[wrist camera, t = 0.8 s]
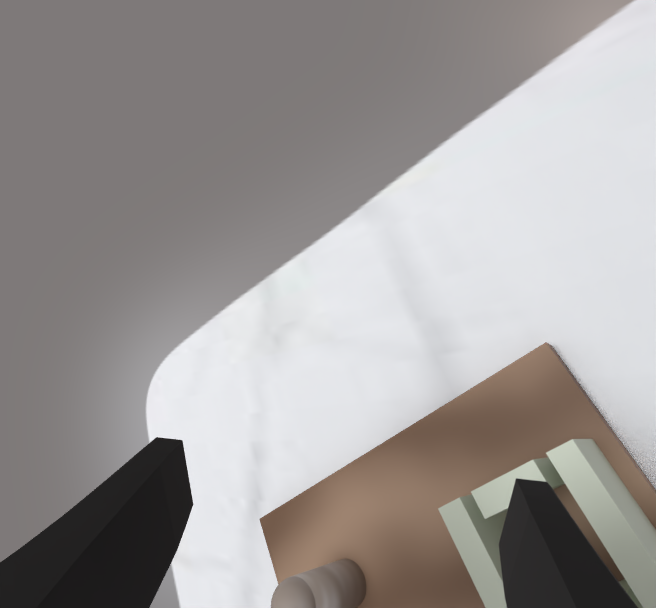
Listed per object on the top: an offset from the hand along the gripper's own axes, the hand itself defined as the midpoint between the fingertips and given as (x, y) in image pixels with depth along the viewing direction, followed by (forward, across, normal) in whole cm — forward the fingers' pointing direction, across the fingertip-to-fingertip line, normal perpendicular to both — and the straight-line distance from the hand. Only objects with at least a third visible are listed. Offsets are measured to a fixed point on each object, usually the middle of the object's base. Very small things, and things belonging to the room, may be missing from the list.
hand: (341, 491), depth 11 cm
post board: (+6, -5, +13) cm, 16 cm away
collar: (+6, -9, +8) cm, 14 cm away
